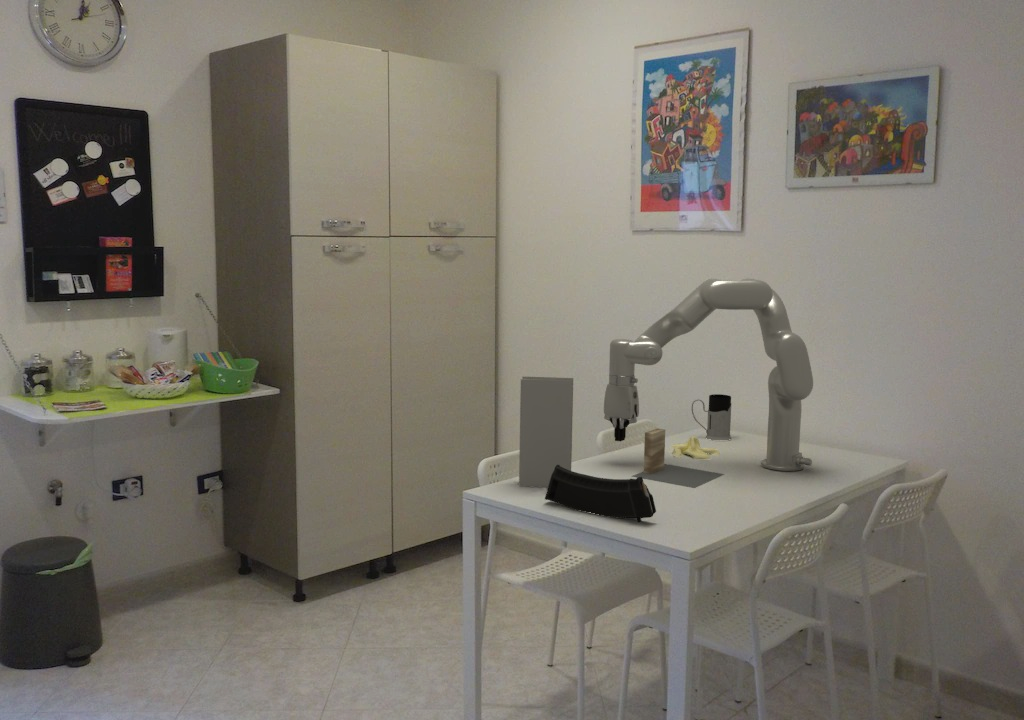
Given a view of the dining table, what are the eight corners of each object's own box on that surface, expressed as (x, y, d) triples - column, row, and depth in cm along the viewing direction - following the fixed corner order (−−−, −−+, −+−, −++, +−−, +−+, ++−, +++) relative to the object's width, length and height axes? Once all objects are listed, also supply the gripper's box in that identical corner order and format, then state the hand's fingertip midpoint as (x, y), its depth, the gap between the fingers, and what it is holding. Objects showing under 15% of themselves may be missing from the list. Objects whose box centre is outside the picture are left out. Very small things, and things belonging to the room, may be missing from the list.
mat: (724, 475, 275) (724, 474, 275) (694, 489, 259) (694, 487, 259) (663, 465, 286) (663, 463, 286) (631, 477, 271) (631, 476, 270)
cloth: (676, 445, 317) (676, 427, 316) (729, 452, 307) (729, 434, 307) (648, 457, 299) (649, 438, 298) (704, 466, 289) (705, 446, 288)
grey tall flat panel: (570, 483, 264) (573, 377, 260) (570, 488, 258) (572, 380, 255) (520, 481, 265) (522, 376, 261) (519, 486, 260) (520, 379, 256)
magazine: (537, 468, 243) (636, 451, 226) (544, 466, 246) (642, 449, 228) (551, 533, 242) (652, 521, 225) (558, 530, 245) (658, 518, 227)
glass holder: (734, 441, 323) (736, 398, 321) (693, 441, 322) (695, 398, 320) (727, 435, 331) (729, 394, 329) (687, 435, 331) (689, 393, 329)
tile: (663, 468, 280) (665, 429, 278) (651, 474, 273) (652, 433, 272) (655, 467, 281) (657, 428, 280) (642, 472, 275) (644, 432, 273)
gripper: (649, 381, 280) (647, 441, 282) (606, 376, 288) (605, 435, 291) (637, 384, 274) (635, 446, 276) (593, 379, 282) (592, 439, 285)
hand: (619, 440), depth 283 cm, fingers closed
